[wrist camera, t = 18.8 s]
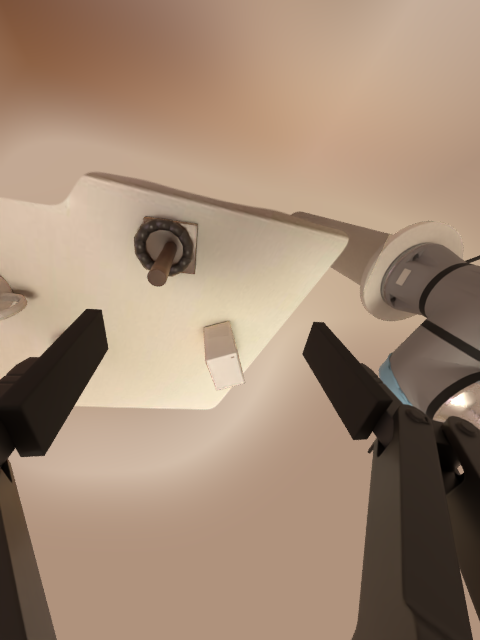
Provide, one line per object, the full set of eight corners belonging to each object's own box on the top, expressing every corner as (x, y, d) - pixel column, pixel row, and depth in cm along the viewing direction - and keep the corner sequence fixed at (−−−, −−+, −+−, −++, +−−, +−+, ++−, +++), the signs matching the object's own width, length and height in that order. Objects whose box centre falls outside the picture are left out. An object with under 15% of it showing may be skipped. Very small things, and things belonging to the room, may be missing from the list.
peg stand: (197, 223, 37) (196, 245, 24) (194, 271, 41) (192, 312, 27) (145, 216, 35) (112, 234, 22) (147, 266, 39) (120, 308, 26)
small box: (203, 326, 47) (204, 360, 38) (229, 320, 47) (236, 351, 38) (213, 355, 51) (216, 391, 42) (237, 349, 51) (245, 384, 42)
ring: (194, 222, 35) (194, 223, 34) (191, 276, 39) (191, 279, 38) (133, 213, 33) (130, 215, 32) (137, 271, 38) (135, 274, 36)
